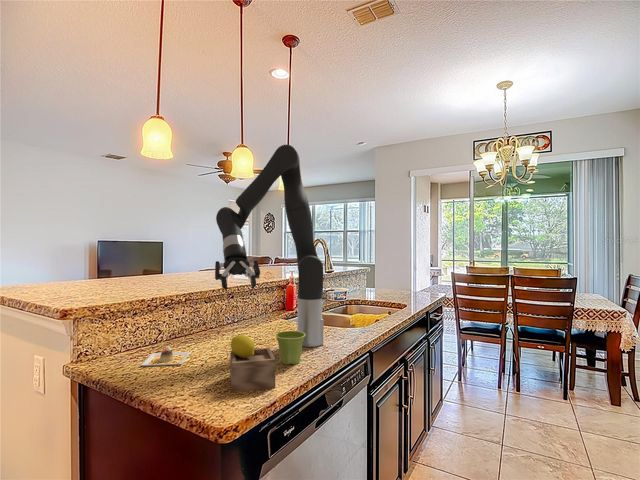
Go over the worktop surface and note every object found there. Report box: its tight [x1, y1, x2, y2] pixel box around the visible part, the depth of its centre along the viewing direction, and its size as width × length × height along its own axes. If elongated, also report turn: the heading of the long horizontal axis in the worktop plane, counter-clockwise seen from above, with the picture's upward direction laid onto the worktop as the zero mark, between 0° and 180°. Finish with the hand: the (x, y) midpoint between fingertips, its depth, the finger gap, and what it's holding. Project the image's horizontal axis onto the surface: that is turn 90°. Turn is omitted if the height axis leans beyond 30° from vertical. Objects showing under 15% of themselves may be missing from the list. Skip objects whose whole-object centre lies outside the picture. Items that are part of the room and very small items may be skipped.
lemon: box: [230, 334, 256, 358], centre depth 96 cm, size 6×6×8 cm
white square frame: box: [140, 346, 191, 367], centre depth 111 cm, size 12×12×5 cm
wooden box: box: [229, 347, 277, 393], centre depth 94 cm, size 11×11×8 cm
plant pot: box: [275, 330, 305, 365], centre depth 110 cm, size 9×9×9 cm
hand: (239, 287), depth 109 cm, fingers open, 8 cm apart
